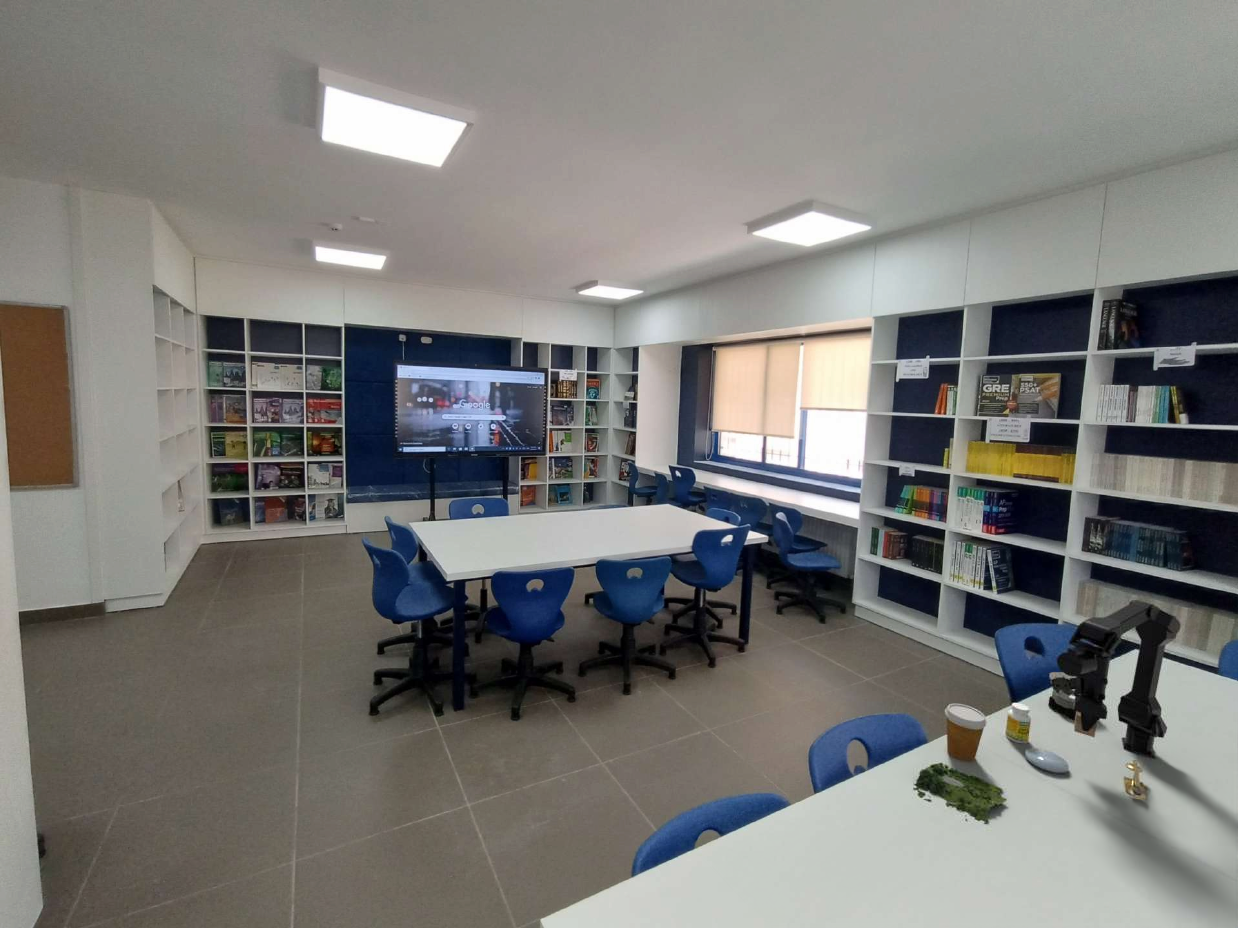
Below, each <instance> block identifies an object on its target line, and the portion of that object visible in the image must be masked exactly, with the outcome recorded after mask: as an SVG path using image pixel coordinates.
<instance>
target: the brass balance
mask: <svg viewBox="0 0 1238 928" xmlns="http://www.w3.org/2000/svg"><path fill="white" fill-rule="evenodd" d="M1125 767H1126V769H1128V770H1130V771H1132V772H1133V775H1132V778H1131V777H1126V776H1123V784H1124V792H1127V793H1128V794H1129V795H1131V796H1132V797H1134V798H1137V799H1140V800H1146V799H1147V796H1146V790H1145V785H1144V782H1142V781H1140V774H1139V773H1143V772H1144V771H1143V768H1142V767H1140V766H1139V765H1138V760H1136V759H1132V763H1129V762H1127V763H1125Z"/></svg>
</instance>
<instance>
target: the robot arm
mask: <svg viewBox="0 0 1238 928" xmlns="http://www.w3.org/2000/svg"><path fill="white" fill-rule="evenodd" d="M1133 629H1134V630H1135V631H1136V634H1137V635H1138V637H1139V639H1140V645H1139V649H1138V655H1137V660H1136V665H1135V670H1134V677H1133V681H1132V685H1131V686H1132V687H1131V690H1130V691H1129V692H1128V693H1126V694H1125V695H1121V696H1120V699H1119V703H1118V705H1117V714H1118V715H1117V716H1118V721H1119V722H1120V723H1123V724H1126V726H1127V727H1126V730H1125V731H1126V733H1125V737H1124V736H1123V737H1121V742H1122V748H1123V749H1125V750H1127V751H1130V752H1133V753H1137V754H1140V755H1143V756H1146V757H1149V758H1153V759H1156V753H1155V750H1154V743H1155V738H1161V739H1164V738H1165V735H1166V733H1167V730H1168V727H1167V725H1166V723H1165V721H1164V719H1163V718H1162V707H1161V705H1160V703H1159V701H1158V699H1157V696H1156V695H1157V690H1158V684H1159V680H1160V675H1161V669H1162V664H1163V661H1164V654H1165V648H1166V646H1167V645H1168V644H1170V643H1171V642H1172V641H1174V640H1176V637H1177V634H1178V633H1179V631H1180V630H1181V623H1180V621H1179V619H1177V616H1176V615H1172V614H1169V612H1166V611H1164V610H1163V609H1160V607H1158V606H1157V605H1155V604H1153V603H1150V602H1145V601H1143V600H1139V599H1132V600H1130V602H1129V603H1128V604H1127V605H1126V606H1124V607H1122V608H1120V609H1118V610H1116V611H1114V612H1112V613H1111V614H1109V615H1106V616H1105V617H1097V616H1095V617H1094V616H1093V617H1091V618H1086V619H1085V620H1083V621H1082V622H1081V623H1080V624H1079V625H1078V626H1077V628H1076V630H1075V632H1074V633H1073V635H1072V636H1071V638H1070V640H1069V642H1068V645H1071V646H1073V647H1068V648H1067V652H1061V653H1060V654H1059V655H1058V657H1057V658H1056V663H1057V667H1058V669H1059V670H1060V671H1061V672H1060V671H1058V672H1057V671H1053V672H1049V677H1048V679H1049V680H1050V685H1051V688H1052V691H1053V690H1074V696H1075V700H1074V710H1075V711H1077V712H1080V713H1081V722H1082V730H1083V731H1086V732H1088V731H1089V730H1090V729H1091V728H1092V727H1093V726H1094V724H1095V723H1096V722H1097V723H1098V722H1099V720H1107V718H1108V717H1107V716H1108V708H1107V705H1106V704H1105V703H1104V701H1106V689H1107V686H1108V682H1109V679H1108V676H1109V675H1108V674H1109V670H1110V663H1111V657H1112V655H1114V654H1115V653H1116V652H1115V650H1116V648H1117V647H1118V646H1119V644H1120V643H1121V642H1122V636H1123V635H1124V634H1126V633H1127V632H1129V631H1131V630H1133Z"/></svg>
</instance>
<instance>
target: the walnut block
mask: <svg viewBox="0 0 1238 928" xmlns="http://www.w3.org/2000/svg"><path fill="white" fill-rule="evenodd" d="M1097 723H1098V721H1097V722H1096V723H1095V724H1094V726H1093V727H1092V728H1091V729H1090V730H1089V731H1088V732H1086V731H1083V730H1082V722H1081V713H1080V712H1077V711H1076V717H1075V720H1074V724H1073V725H1074V726H1073V728H1074V729H1073V730H1074V731H1073V732H1075V733H1078V734H1082V735H1085V736H1087V737H1088V736H1089V737H1092V738H1095V736H1096V730H1097Z"/></svg>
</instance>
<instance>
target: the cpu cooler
mask: <svg viewBox="0 0 1238 928" xmlns="http://www.w3.org/2000/svg"><path fill="white" fill-rule="evenodd" d="M1074 690H1075V689H1073V690H1053V689H1052V694H1051V696H1049V697H1048V708H1049V709H1051V710H1054V712H1057V713H1058V714H1060V715H1062V716H1064V717H1066V718H1068V719H1070V720H1072V721H1075V717H1076V711H1075V710H1074V700H1075V696H1074Z"/></svg>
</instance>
